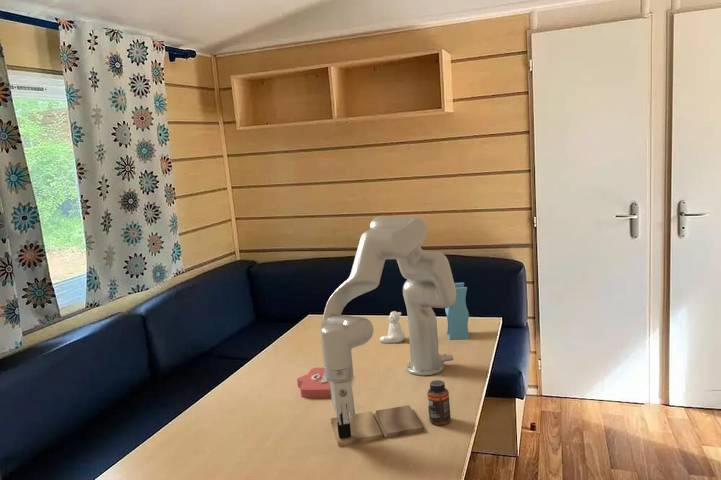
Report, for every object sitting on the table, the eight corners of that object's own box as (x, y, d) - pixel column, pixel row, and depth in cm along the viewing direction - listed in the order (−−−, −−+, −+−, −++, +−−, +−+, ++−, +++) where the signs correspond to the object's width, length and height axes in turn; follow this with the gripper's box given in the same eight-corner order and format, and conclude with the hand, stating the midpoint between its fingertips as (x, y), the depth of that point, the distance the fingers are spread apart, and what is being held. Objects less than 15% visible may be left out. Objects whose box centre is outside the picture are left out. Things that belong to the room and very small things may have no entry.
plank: (372, 415, 175) (371, 411, 174) (382, 438, 161) (382, 434, 161) (330, 422, 173) (330, 418, 172) (338, 446, 159) (337, 442, 159)
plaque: (303, 366, 207) (346, 365, 205) (304, 376, 208) (347, 375, 206) (289, 388, 190) (336, 387, 188) (291, 399, 191) (337, 399, 188)
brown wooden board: (409, 408, 177) (409, 405, 176) (423, 431, 163) (422, 427, 163) (373, 414, 175) (373, 411, 174) (384, 438, 161) (383, 433, 161)
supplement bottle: (452, 416, 170) (450, 378, 168) (448, 427, 164) (446, 388, 162) (431, 415, 172) (429, 377, 170) (427, 425, 166) (424, 386, 164)
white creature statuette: (392, 335, 241) (389, 306, 239) (410, 338, 236) (408, 308, 234) (378, 343, 233) (376, 313, 231) (397, 346, 228) (395, 315, 226)
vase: (470, 338, 230) (467, 287, 226) (449, 340, 230) (446, 289, 226) (466, 331, 237) (464, 282, 234) (446, 333, 238) (443, 283, 234)
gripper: (358, 380, 151) (364, 448, 154) (348, 359, 166) (353, 421, 169) (328, 384, 150) (335, 453, 153) (320, 363, 164) (327, 426, 168)
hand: (344, 436), depth 161 cm, fingers closed
